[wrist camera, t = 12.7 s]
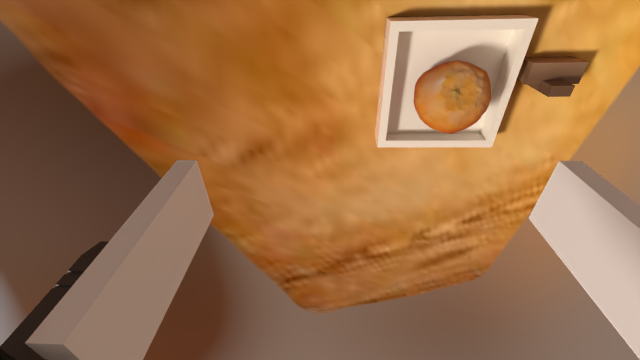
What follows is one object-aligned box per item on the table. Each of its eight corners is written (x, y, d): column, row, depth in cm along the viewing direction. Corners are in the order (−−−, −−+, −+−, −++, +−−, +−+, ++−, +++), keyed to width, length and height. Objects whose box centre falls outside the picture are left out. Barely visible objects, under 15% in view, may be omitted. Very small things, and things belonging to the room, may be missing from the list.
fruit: (419, 142, 39) (428, 141, 32) (403, 86, 39) (408, 70, 31) (483, 123, 37) (509, 117, 30) (467, 64, 37) (488, 41, 29)
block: (575, -93, 27) (612, -103, 24) (643, -96, 27) (691, -106, 23) (512, 84, 37) (531, 96, 33) (561, 83, 36) (586, 96, 33)
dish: (386, 17, 33) (390, 21, 30) (523, 14, 32) (538, 18, 30) (374, 136, 42) (377, 147, 39) (482, 136, 41) (491, 147, 38)
